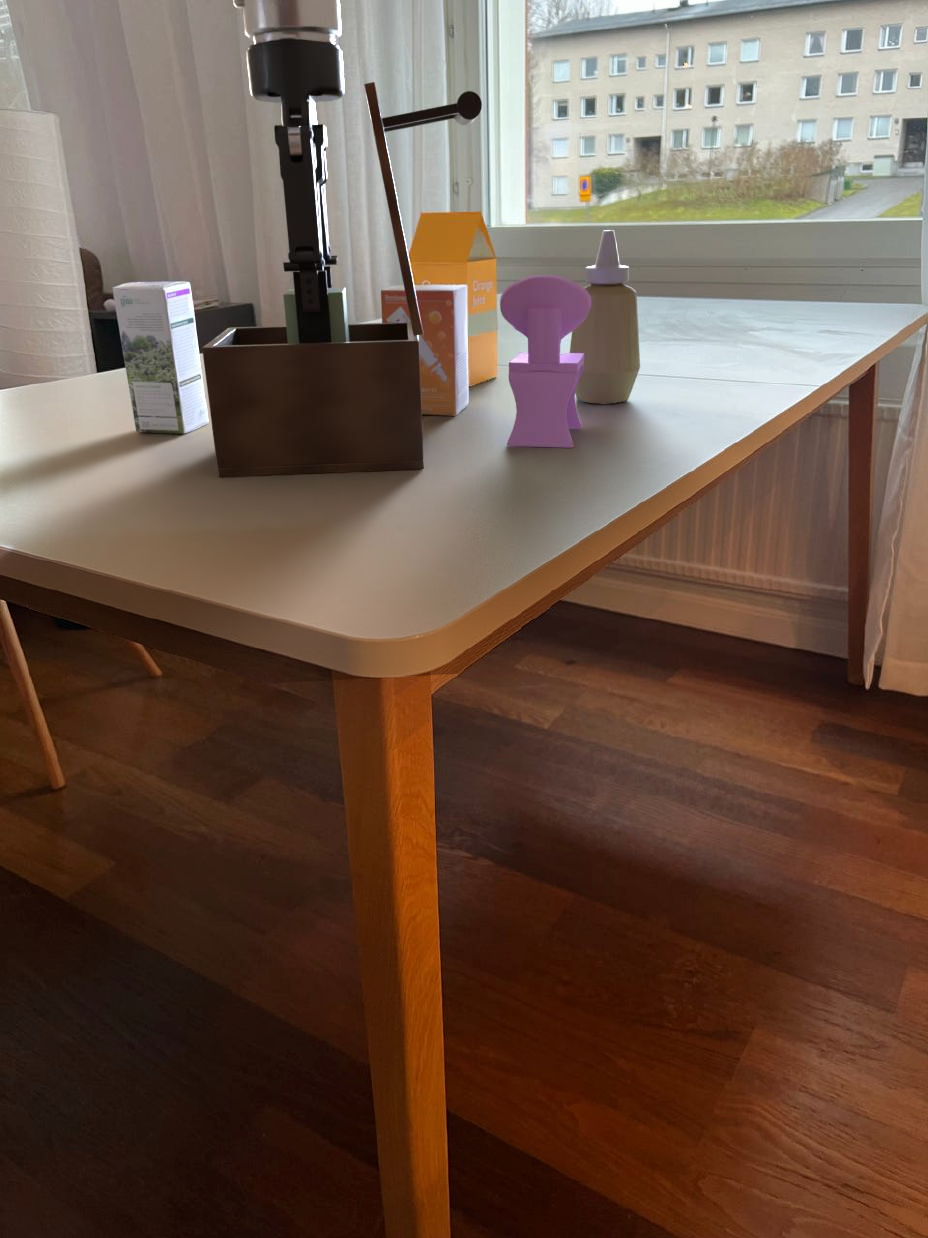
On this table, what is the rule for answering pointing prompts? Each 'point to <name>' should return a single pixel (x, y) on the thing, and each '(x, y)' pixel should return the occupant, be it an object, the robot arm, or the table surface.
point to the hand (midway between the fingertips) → (318, 346)
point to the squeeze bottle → (608, 330)
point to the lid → (460, 111)
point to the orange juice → (462, 278)
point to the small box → (437, 343)
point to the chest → (315, 401)
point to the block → (335, 309)
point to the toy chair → (545, 358)
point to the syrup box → (161, 356)
